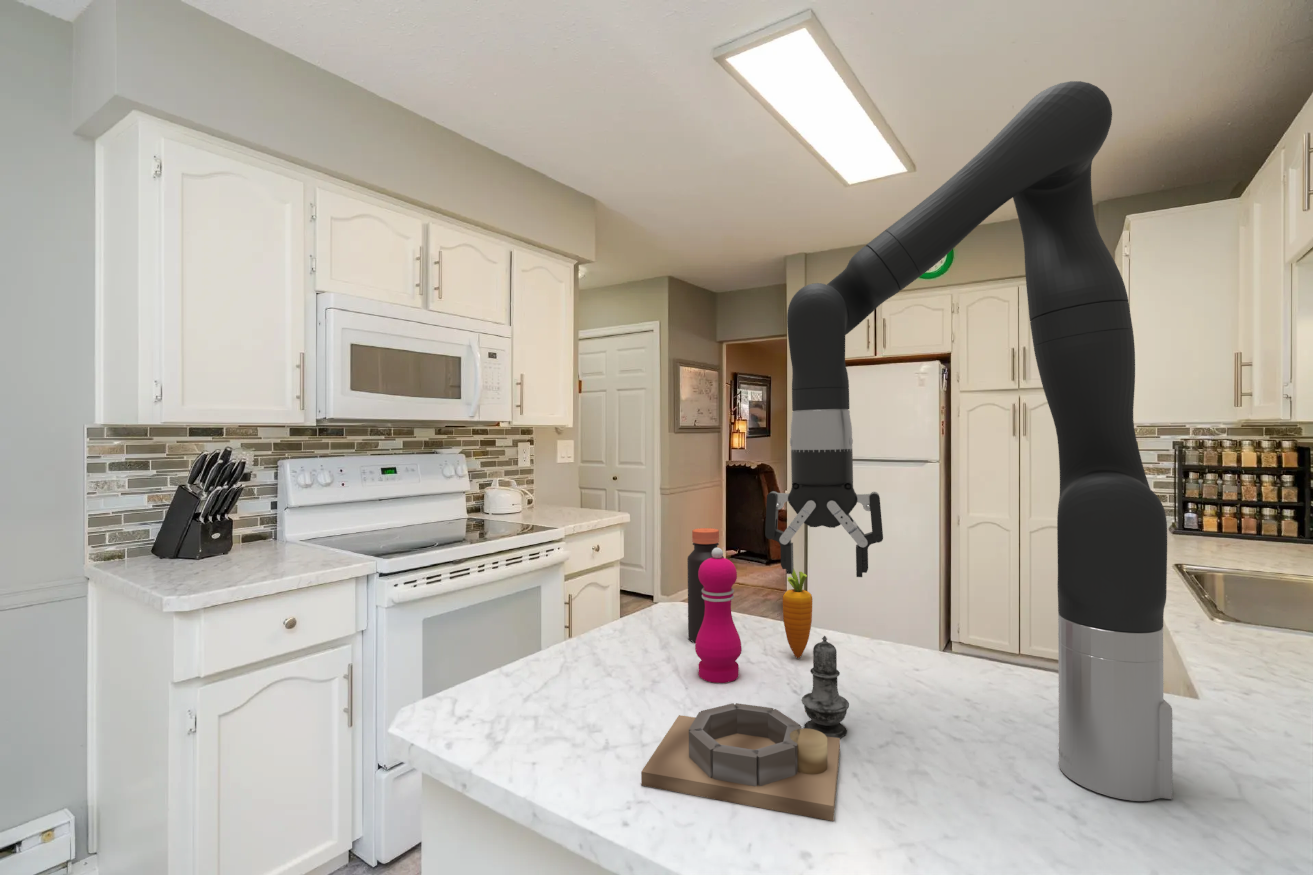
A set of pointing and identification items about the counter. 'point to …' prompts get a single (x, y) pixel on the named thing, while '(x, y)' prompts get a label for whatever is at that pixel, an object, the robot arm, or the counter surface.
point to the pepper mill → (718, 621)
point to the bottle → (702, 551)
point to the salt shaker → (825, 694)
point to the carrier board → (748, 761)
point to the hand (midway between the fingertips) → (823, 574)
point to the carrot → (797, 614)
